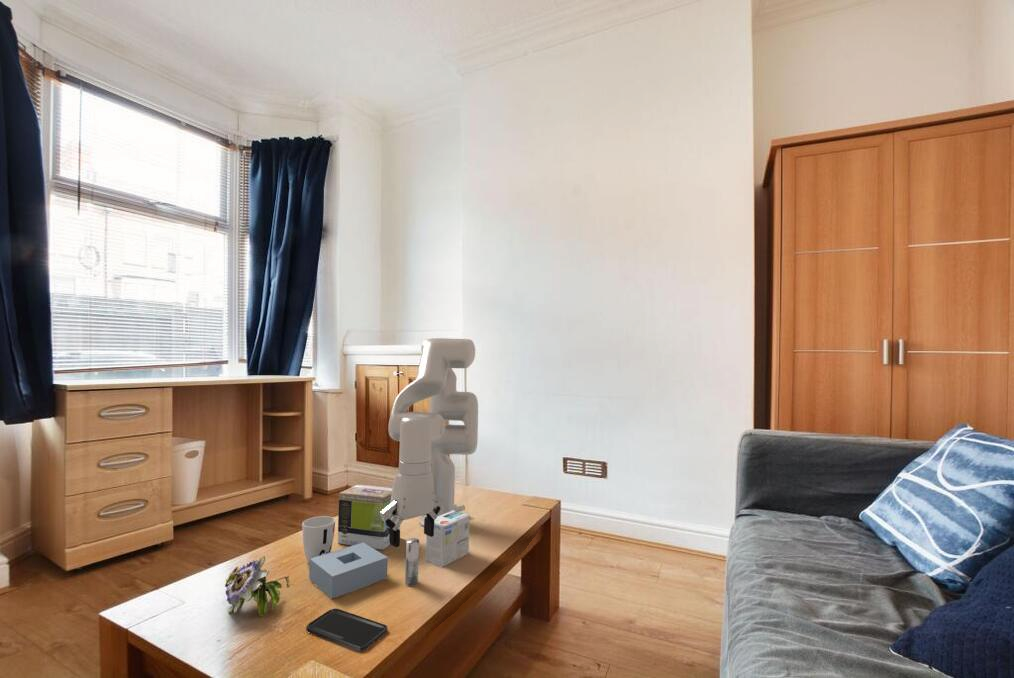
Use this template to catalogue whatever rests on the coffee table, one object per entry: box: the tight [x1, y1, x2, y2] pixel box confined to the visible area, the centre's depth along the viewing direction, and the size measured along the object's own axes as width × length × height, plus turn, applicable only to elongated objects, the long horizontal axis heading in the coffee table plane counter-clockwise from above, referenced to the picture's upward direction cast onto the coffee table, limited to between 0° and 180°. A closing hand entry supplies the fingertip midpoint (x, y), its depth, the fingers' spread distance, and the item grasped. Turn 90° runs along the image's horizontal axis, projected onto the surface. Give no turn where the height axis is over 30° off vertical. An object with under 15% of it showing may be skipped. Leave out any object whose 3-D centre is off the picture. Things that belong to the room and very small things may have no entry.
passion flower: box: [224, 555, 290, 617], centre depth 99 cm, size 11×11×12 cm
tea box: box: [337, 484, 401, 551], centre depth 134 cm, size 15×10×15 cm
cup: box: [301, 515, 336, 564], centre depth 121 cm, size 8×8×10 cm
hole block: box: [308, 543, 389, 600], centre depth 111 cm, size 14×12×5 cm
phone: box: [305, 608, 388, 653], centre depth 91 cm, size 8×1×15 cm
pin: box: [404, 537, 420, 587], centre depth 110 cm, size 3×3×10 cm
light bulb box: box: [425, 510, 471, 568], centre depth 124 cm, size 11×7×11 cm, turn 145°
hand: (412, 540), depth 110 cm, fingers open, 9 cm apart
